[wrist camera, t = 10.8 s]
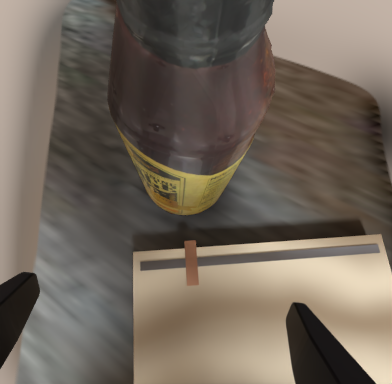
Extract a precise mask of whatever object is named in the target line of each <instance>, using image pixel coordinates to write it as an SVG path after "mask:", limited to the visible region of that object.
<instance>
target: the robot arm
mask: <svg viewBox="0 0 392 384" xmlns="http://www.w3.org/2000/svg"><path fill="white" fill-rule="evenodd" d="M39 293H40V288H39V284H38V280H37V276H36V274H35V273H29V272H22V273H20V274H18V275H16V276H15V277H13V278H11V279H9V280H8V281H6V282H4V283H3V284H1V285H0V369H1V367H2V365H3V364H4V362H5V360H6V359H7V357H8V355H9V354H10V352H11V351H12V349H13V347H14V345H15V344H16V342H17V340H18V338H19V336H20V334H21V332H22V330H23V328H24V326H25V324H26V322H27V320H28V318H29V316H30V313H31V311H32V309H33V307H34V305H35V303H36V301H37V299H38V297H39ZM286 329H287V336H288V344H289V351H290V358H291V365H292V371H293V376H294V380H295V384H376V383H375V381H374V380H373V379H372V378H371V377H370V376H369V375H368V374H367V372H366V371H365V370H364V369H363V368H362V367H361V366H360V365H359V363H358V362H357V361H356V360H355V359H354V358H353V357H352V356H351V355H350V353H349V352H348V351H347V350H346V349H345V348H344V347H343V346H342V344H341V343H340V342H339V341H338V340H337V339H336V338H335V337H334V335H333V334H332V333H331V332H330V331H329V330H328V329H327V328H326V326H325V325H324V324H323V323H322V322H321V321H320V320H319V319H318V317H317V316H316V315H315V314H314V313H313V312H312V311H311V310H310V308H309V307H308V306H307V305H306V304H304V303H299V302H293V303H292V304H291V306H290V309H289V311H288V314H287V316H286Z"/></svg>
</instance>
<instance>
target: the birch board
mask: <svg viewBox="0 0 392 384" xmlns="http://www.w3.org/2000/svg"><path fill="white" fill-rule="evenodd" d="M184 243H185V248H182V249H168V250H154V251H140V252H133V321H134V384H295V380H294V376H293V371H292V365H291V358H290V351H289V344H288V336H287V329H286V316H287V314H288V311H289V309H290V306H291V304H292V303H293V302H299V303H304V304H306V305H307V306H308V307H309V308H310V310H311V311H312V312H313V313H314V314H315V315H316V316H317V317H318V319H319V320H320V321H321V322H322V323H323V324H324V325H325V326H326V328H327V329H328V330H329V331H330V332H331V333H332V334H333V335H334V337H335V338H336V339H337V340H338V341H339V342H340V343H341V344H342V346H343V347H344V348H345V349H346V350H347V351H348V352H349V353H350V355H351V356H352V357H353V358H354V359H355V360H356V361H357V362H358V363H359V365H360V366H361V367H362V368H363V369H364V370H365V371H366V372H367V374H368V375H369V376H370V377H371V378H372V379H373V380H374V381H375V383H376V384H392V273H391V269H390V266H389V262H388V258H387V254H386V251H385V247H384V243H383V240H382V236H381V234H378V235H364V236H350V237H336V238H322V239H308V240H294V241H280V242H266V243H252V244H238V245H224V246H210V247H196V240H191V241H184Z"/></svg>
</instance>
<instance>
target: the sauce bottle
mask: <svg viewBox="0 0 392 384" xmlns="http://www.w3.org/2000/svg"><path fill="white" fill-rule="evenodd" d="M116 1H117V7H116V15H115V24H114V33H113V43H112V53H111V63H110V72H109V83H108V105H109V110H110V113H111V116H112V118H113V120H114V122H115V124H116V127H117V129H118V131H119V134H120V136H121V138H122V140H123V142H124V144H125V146H126V148H127V150H128V152H129V155H130V157H131V159H132V162H133V163H134V166H135V167H136V169H137V172H138V174H139V176H140V178H141V180H142V182H143V184H144V186H145V188H146V191H147V193H148V194H149V196H150V198H151V199H152V200H153V201H154V202H155V203H156V204H157V205H158V206H159V207H161V208H162V209H164V210H166V211H167V212H169V213H171V214H179V215H192V214H198V213H201V212H202V211H204V210H206V209H208V208H209V207H210V206H212V205H213V204H214V203H216V201H217V200H218V198H219V197H220V195H221V194H222V192H223V190H224V189H225V187H226V185H227V184H228V182H229V181H230V179H231V177H232V176H233V174H234V172H235V170H236V169H237V167H238V165H239V164H240V162H241V160H242V158H243V157H244V155H245V153H246V152H247V150H248V148H249V147H250V145H251V143H252V141H253V138H254V135H255V132H256V130H257V128H258V127H259V125H260V124H261V122H262V120H263V118H264V116H265V114H266V112H267V110H268V108H269V105H270V101H271V98H272V96H273V94H274V93H275V64H274V58H273V54H272V50H271V46H272V45H271V43H270V40H269V38H268V35H267V32H266V29H265V24H266V23H267V21H268V20H269V18H270V16H271V14H272V6H273V2H274V0H116Z"/></svg>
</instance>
